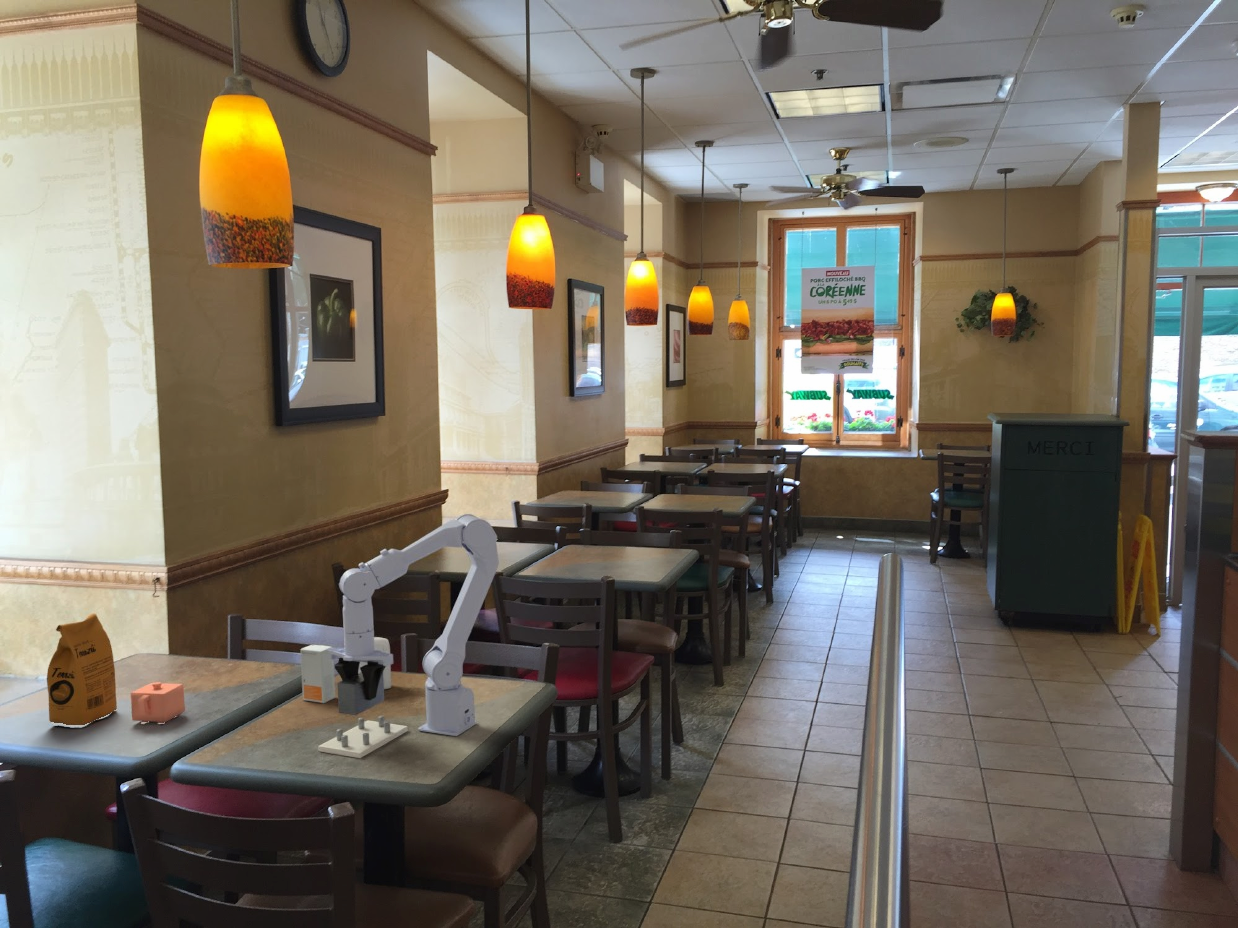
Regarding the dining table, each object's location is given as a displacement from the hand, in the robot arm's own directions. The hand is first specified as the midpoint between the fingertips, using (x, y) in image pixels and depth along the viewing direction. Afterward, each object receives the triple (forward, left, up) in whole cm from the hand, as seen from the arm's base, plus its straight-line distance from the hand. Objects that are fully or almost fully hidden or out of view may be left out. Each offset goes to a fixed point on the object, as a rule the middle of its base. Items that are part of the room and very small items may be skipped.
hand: (362, 697), depth 190 cm
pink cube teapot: (+50, +5, -9) cm, 51 cm away
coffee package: (+66, +11, -9) cm, 68 cm away
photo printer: (+19, -26, -9) cm, 33 cm away
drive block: (0, 0, -2) cm, 2 cm away
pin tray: (0, 0, -9) cm, 9 cm away
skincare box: (+26, -17, -9) cm, 32 cm away
